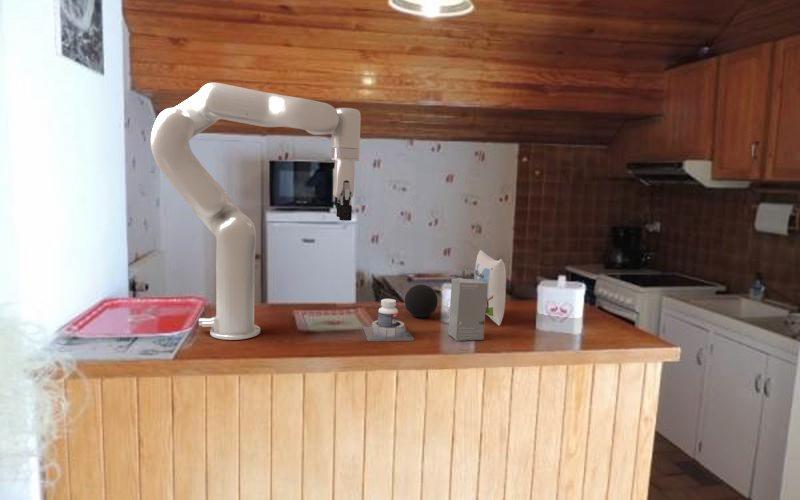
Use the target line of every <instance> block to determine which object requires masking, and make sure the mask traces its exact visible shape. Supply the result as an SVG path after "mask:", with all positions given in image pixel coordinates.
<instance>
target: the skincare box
mask: <svg viewBox="0 0 800 500" xmlns="http://www.w3.org/2000/svg"><path fill="white" fill-rule="evenodd" d="M487 284H488V283H486V282H484V281H481V280H479V279H474V278H452V279H451V288H450V302H449V303H450V304H449V305H450V306H449V316H448V317H449V318H448V329H447V331H448V332H447V333H448V335H449V336H450V337H452V338H453V339H454V340H455V341H456V342H460V341H461V342H463V341H480V340H481V341H484V339H485V337H484V336H485V325H486V314H485V312H486V299H487Z"/></svg>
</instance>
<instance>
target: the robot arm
mask: <svg viewBox="0 0 800 500" xmlns="http://www.w3.org/2000/svg"><path fill="white" fill-rule="evenodd" d="M219 120H223V121H231V122H236V123H242V124H247V125H253V126H257V127H264V128H278V127H279V128H281V127H282V128H293V129H298V130H299V129H300V130H305V132H307V133H309V134H311V135H315V136H317V135H318V136H319V135H331V156H330V158H331V159H330V160H331V161H334V167H333V169H334V170H333V189H332V190H333V191H332V192H333V193H332V194H333V196H334V198H337V199H336V200H337V202H336V217H337V218H338V219H339V221H346V222H347V221H348V222H349V221H352V214H353V213H352V212H353V211H352V210H353V207H352V206H353V205H352V198H353V197H354V193H355V174H356V173H355V172H356V170H355V169H356V162H360V151H361V150H360V149H361V146H360V145H361V121H362V120H361V112H360V110H359V109H356V108H352V107H337V108H335V107H334V106H333V105H331V104H329V103H326V102H323V101H322V102H321V101H319V100H318V101H317V100H312V99H308V98H303V97H297V96H290V95H283V94H278V93H271V92H265V91H261V90H257V89H250V88H245V87H241V86H236V85H231V84H227V83H226V84H225V83H222V82H214V81H213V82H208V83H206V84H204V85H203V86H201V88H200V89H199V90H198V91H197V92H195V93H194V94H193V95H191V96H190V97H188V98H187V99H185V100H184V101H182V102H181V103H179V104H178V105H175V106H174V107H169V108H168V107H167V108H165V109H164V110H162V111H161V112H160V113H159V114H158V115H157V117H156V119H155V122H154V124H153V127H152V129H151V134H150V149H151V153H152V156H153V159H154V161H155V163H156V164H157V165H156V166H158V168H159V169H160V171H161V172H162V174H163V175H164V176H165V177H166V178H167V180H168V181H169V182H170V183H171V185H172V186H173V188H175V189H176V191H177V192H178V193H179V195H180V196H181V197H182V198H183V199H184V201H186V204H187V206H188V207H189V208H190V209H191V211H192V212H193V213H194V214H196V217H198V219H199V220H200V221H201V222H202V223H203V224H204V226H205V227H206V228H208V230H209V231H210V232H211V233H212V235H214V237H215V238H216V250H215V251H216V254H215V255H216V256H215V277H216V278H215V279H216V280H215V281H216V282H215V283H216V284H215V285H216V286H215V288H216V291H215V295H216V297H215V300H216V301H215V302H216V304H215V305H216V306H215V307H216V310H215V311H216V313H215V316H212V317H211V318H210V317H209V318H207V317H199V318H198V326H201V327H202V328H208V327H211V328H210V330H209V333H210V336H211V337H212V338H215V339H218V340H225V341H227V340H228V341H233V340H234V341H235V340H236V341H237V340H240V341H241V340H246V339H251V338H254V337H256V336H258V335H259V334H261V327H260V326H258V325H257V324H255V263H256V261H255V259H256V247H257V246H256V245H257V232H256V226H255V224H254V222H253V221H252V220H251V218H250V217H249V216H248V215H246V214H244V213H243V212H242V211H241V210H240V208H239V207H238V206H237V205H236V204H235V202H234V201H233V200H232V199H231V198H230V196H229V195H228V194H227V193H226V191H225V189H224V187H223V186H222V184H220V183H219V182H218V181H217V180H215V179H214V177H213V176H212V175H211V174H210V173H209V171H208V170H207V169H206V168H205V167H204V165H203V164H202V163H201V162H200V160H199V159H198V158H197V156H196V154H194V152H193V151H192V149H191V146H190V139H192V138H194V137H196V136H197V135H199V134H200V133H202V132H203V131H205V130H206V129H208V128H209V127H210V126H212V125H214V124H215V123H217V122H218V121H219Z"/></svg>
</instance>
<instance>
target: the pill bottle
mask: <svg viewBox="0 0 800 500" xmlns="http://www.w3.org/2000/svg"><path fill="white" fill-rule="evenodd" d="M380 306H381V307H379V309H378V311H377V312H378V313H377V314H378V317H377V320H378V325H379V326H383V327H396V326H397V321H399V320H398V316H399V315H398V314H399V310H398V308H396V306H397V300H396V299H394V298H382V299H381V300H380Z"/></svg>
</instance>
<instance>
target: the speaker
mask: <svg viewBox="0 0 800 500" xmlns="http://www.w3.org/2000/svg"><path fill="white" fill-rule="evenodd" d="M438 302H439V299H438V296H437V293H436V291H435V290H434V289H433V288H432V287H431V286H429V285H426V284H416V285H413V286H412V287H410V288H409V289H408V291H407V292H406V294H405V297H404V306H405V308H406V311H408V313H409V314H410V315H411V316H412V317H416V318H427V317H430V316H431V315H432V314H434V313H435V310H436V309H437V307H438Z"/></svg>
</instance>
